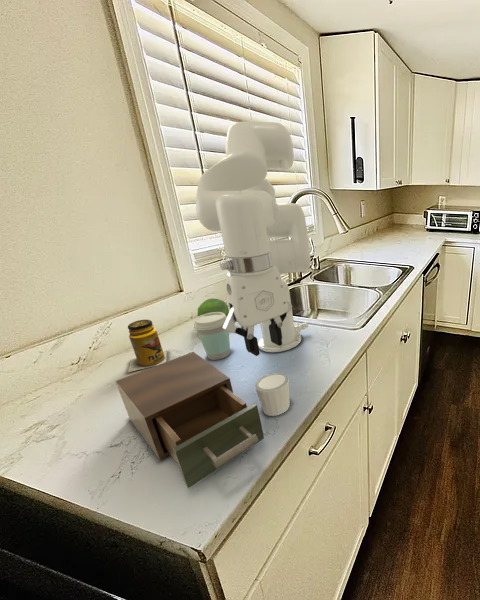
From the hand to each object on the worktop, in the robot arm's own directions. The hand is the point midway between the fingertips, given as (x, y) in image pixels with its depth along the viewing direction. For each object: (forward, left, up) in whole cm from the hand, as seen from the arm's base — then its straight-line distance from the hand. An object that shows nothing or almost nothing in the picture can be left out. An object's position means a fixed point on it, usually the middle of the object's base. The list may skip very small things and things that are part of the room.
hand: (265, 347), depth 67 cm
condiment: (+11, -46, -16) cm, 50 cm away
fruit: (-12, -55, -16) cm, 58 cm away
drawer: (+14, +2, -14) cm, 20 cm away
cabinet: (+14, -13, -15) cm, 25 cm away
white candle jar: (0, 0, -16) cm, 16 cm away
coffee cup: (-3, -34, -16) cm, 38 cm away
